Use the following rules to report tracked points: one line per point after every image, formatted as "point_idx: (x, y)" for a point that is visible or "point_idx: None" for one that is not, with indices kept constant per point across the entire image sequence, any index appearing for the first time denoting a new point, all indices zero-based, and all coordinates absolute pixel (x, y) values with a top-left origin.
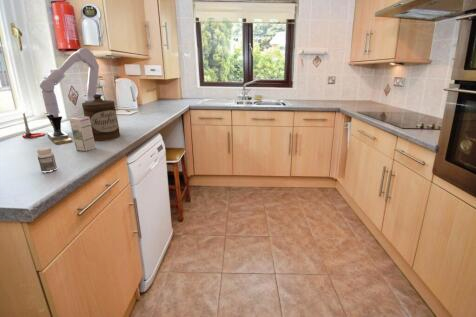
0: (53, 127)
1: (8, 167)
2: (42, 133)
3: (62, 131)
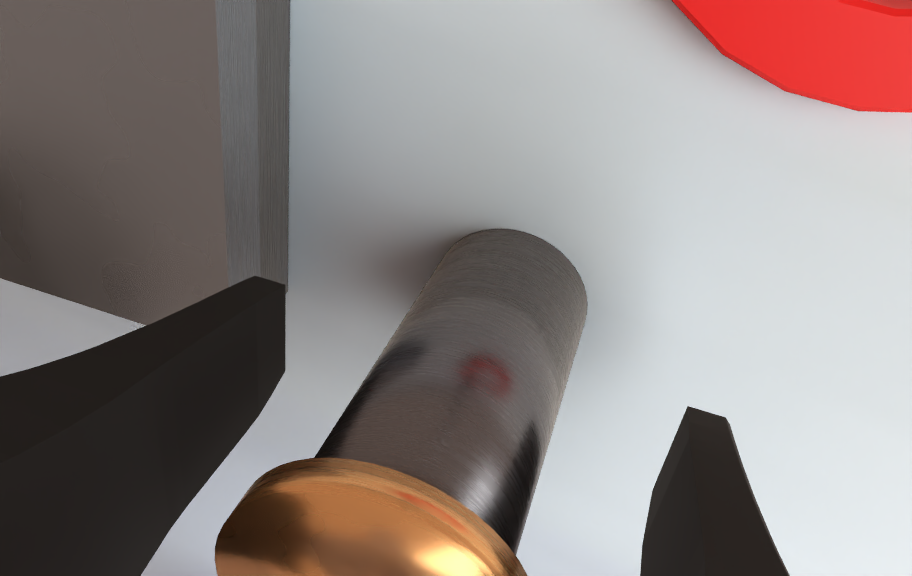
0: (438, 345)
1: None
2: (876, 32)
3: (135, 306)
